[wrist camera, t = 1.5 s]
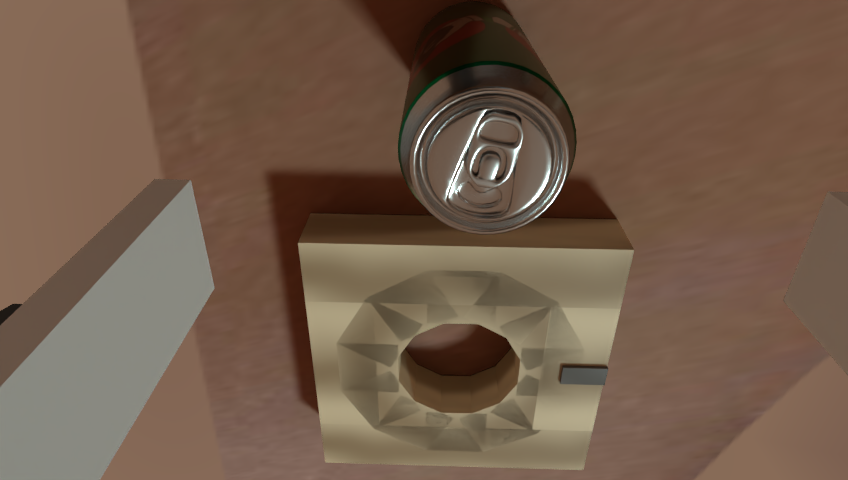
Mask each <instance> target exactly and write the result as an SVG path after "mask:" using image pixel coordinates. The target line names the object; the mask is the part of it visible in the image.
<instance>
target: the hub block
mask: <svg viewBox="0 0 848 480" xmlns="http://www.w3.org/2000/svg"><path fill="white" fill-rule="evenodd" d="M298 248H299V256H300V264H301V272H302V280H303V288H304V296H305V304H306V312H307V320H308V328H309V336H310V344H311V352H312V360H313V368H314V376H315V384H316V392H317V400H318V408H319V416H320V424H321V432H322V440H323V448H324V456H325V462H327V463H361V464H395V465H430V466H464V467H498V468H532V469H566V470H583V469H584V464H585V460H586V456H587V451H588V447H589V443H590V439H591V434H592V430H593V426H594V421H595V417H596V413H597V408H598V404H599V400H600V395H601V391H602V387H603V385H605V380H606V376H607V372H608V367H607V365H608V361H609V357H610V352H611V348H612V344H613V339H614V335H615V331H616V326H617V322H618V318H619V313H620V309H621V305H622V300H623V296H624V292H625V288H626V283H627V279H628V275H629V270H630V266H631V262H632V257H633V253H634V249H633V247H632V245H631V243H630V241H629V240H628V238H627V236H626V234H625V232H624V230H623V229H622V227H621V225H620V223H619V221H618V219H569V218H537V219H535V220H534V221H532V222H531V223H529V224H527V225H525V226H523V227H521V228H518V229H516V230H513V231H509V232H506V233H500V234H494V235H479V234H471V233H467V232H463V231H459V230H457V229H454V228H452V227H450V226H448V225H446V224H444V223H443V222H441V221H439V220H438V219H437V218H436V217H435V216H419V215H369V214H319V213H310V216H309V218H308V220H307V223H306V225H305V227H304V230H303V232H302V234H301V237H300V239H299V241H298ZM443 323H454V324H479V325H481V326H483V327H485V328H487V329H489V330H491V331H493V332H495V333H497V334H499V335H501V336H503V337H505V338H507V340H508V341H509V343H510V345H511V346H512V348H511V349H510V350H509V351H508V352H507V354H506V355H505V356H504V357H503V358H502V359H501V360H500V361H499V363H498V364H497V365H496V366H495V367H492V368H489V369H487V370H484V371H482V372H479V373H477V374H474V375H471V376H444V375H439V374H437V373H435V372H433V371H430V370H428V369H426V368H424V367H422V366H419V365H417V364H416V363H415V361H414V360H413V359H412V357H411V356H410V355H409V353H408V352H407V351H406V349H405V348H406V346H407V345H408V344H409V342H410V341H411V340H412V338H413V337H414V336H415V335H417V334H420V333H422V332H424V331H427V330H429V329H432V328H434V327H436V326H439V325H441V324H443Z"/></svg>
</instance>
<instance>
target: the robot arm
mask: <svg viewBox="0 0 848 480" xmlns="http://www.w3.org/2000/svg"><path fill="white" fill-rule="evenodd" d="M213 290H214V283H213V279H212V274H211V270H210V265H209V261H208V256H207V252H206V247H205V242H204V238H203V233H202V229H201V224H200V220H199V215H198V211H197V206H196V202H195V197H194V193H193V188H192V183H191V180H165V179H154V180H153V181H152V182H151V183H150V184H149V185H148V186H147V187H146V188H145V189H144V190H143V191H142V192H141V193H140V194H138V195H137V196H136V197H135V198H134V199H133V200H132V201H131V202H130V203H129V204H128V205H127V206H126V207H125V208H124V209H123V210H122V211H121V212H120V213H118V214H117V215H116V216H115V217H114V218H113V219H112V220H111V221H110V222H109V223H108V224H107V225H106V226H105V227H104V228H103V229H102V230H100V232H98V233H97V234H96V235H95V236H94V237H93V238H92V239H91V240H90V241H89V242H88V243H87V244H86V245H85V246H84V247H83V248H81V249H80V250H79V251H78V252H77V253H76V254H75V255H74V256H73V257H72V258H71V259H70V260H69V261H68V262H67V263H66V264H65V265H64V266H62V268H60V269H59V270H58V271H57V272H56V273H55V274H54V275H53V276H52V277H51V278H50V279H49V280H48V281H47V282H46V283H45V284H43V285H42V287H40V288H39V289H38V290H37V291H36V292H35V293H34V294H33V295H32V296H31V297H30V298H29V299H28V300H27V301H26V302H24V303H23V304H12V305H10V306H8V307H7V308H5V309H3V310H1V311H0V480H100V479H101V477H102V475H103V474H104V472H105V470H106V469H107V467H108V465H109V464H110V462H111V460H112V458H113V457H114V455H115V454H116V451H117V450H118V448H119V447H120V445H121V443H122V442H123V440H124V438H125V437H126V435H127V433H128V432H129V430H130V428H131V427H132V425H133V423H134V422H135V420H136V418H137V417H138V415H139V413H140V412H141V410H142V408H143V406H144V405H145V403H146V401H147V400H148V398H149V397H150V395H151V393H152V392H153V390H154V388H155V387H156V385H157V383H158V382H159V380H160V378H161V376H162V375H163V373H164V372H165V370H166V368H167V367H168V364H169V363H170V362H171V360H172V358H173V356H174V355H175V353H176V351H177V350H178V348H179V346H180V345H181V343H182V341H183V340H184V338H185V336H186V335H187V333H188V331H189V330H190V328H191V326H192V325H193V323H194V321H195V320H196V318H197V316H198V315H199V313H200V311H201V310H202V308H203V306H204V305H205V303H206V301H207V300H208V298H209V296H210V295H211V293H212V291H213ZM783 301H784V302H785V303H786V304H787V306H788V307H789V308H790V309H791V310H792V311H793V313H794V314H795V315H796V316H797V317H798V318H799V320H800V321H801V322H802V323H803V324H804V325H805V327H806V328H807V329H808V330H809V331H810V332H811V333H812V335H813V336H814V337H815V338H816V339H817V340H818V342H819V343H820V344H821V345H822V346H823V347H824V349H825V350H826V351H827V352H828V353H829V354H830V356H831V357H832V358H833V359H834V360H835V361H836V362H837V364H838V365H839V366H840V367H841V368H842V369H843V370H844V372H845V373H846V374H847V375H848V192H827V194H826V197H825V199H824V202H823V204H822V207H821V209H820V212H819V214H818V216H817V219H816V221H815V224H814V226H813V229H812V231H811V234H810V236H809V239H808V241H807V244H806V246H805V248H804V251H803V253H802V256H801V258H800V261H799V263H798V266H797V268H796V271H795V273H794V276H793V278H792V280H791V283H790V285H789V288H788V290H787V293H786V295H785V298H784V300H783Z"/></svg>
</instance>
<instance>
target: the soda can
mask: <svg viewBox="0 0 848 480" xmlns="http://www.w3.org/2000/svg"><path fill="white" fill-rule="evenodd" d="M576 143H577V141H576V128H575V124H574V120H573V116H572V113H571V111H570V109H569V106H568V104H567V102H566V101H565V99H564V97H563V96H562V94H561V93H560V91H559V89H558V88H557V86H556V84H555V83H554V81H553V80H552V78H551V76H550V75H549V73H548V71H547V70H546V68H545V67H544V65H543V63H542V62H541V60H540V58H539V57H538V55H537V53H536V52H535V50H534V49H533V47H532V45H531V44H530V42H529V40H528V39H527V37H526V36H525V34H524V32H523V31H522V29H521V28H520V26H519V25H518V23H517V22H516V21H515V20H514V19H513V17H512V16H511V15H509V14H508V13H507V12H505V11H504V10H503V9H501V8H499V7H497V6H495V5H492V4H489V3H485V2H478V1H472V2H463V3H458V4H455V5H452V6H450V7H448V8H446V9H444V10H442V11H441V12H439V13H438V14H437V15H436V16H434V17H433V18H432V19H431V20H430V22H429V23H428V24H427V25H426V26H425V28H424V29H423V31H422V33H421V35H420V37H419V39H418V41H417V45H416V48H415V53H414V58H413V63H412V68H411V74H410V79H409V84H408V90H407V95H406V100H405V106H404V111H403V116H402V121H401V127H400V132H399V141H398V156H399V163H400V167H401V171H402V174H403V176H404V179H405V181H406V184H407V185H408V187H409V188H410V190H411V192H412V193H413V195H414V196H415V197H416V198H417V199H418V200H419V202H420V203H421V204H422V205H423V206H425V207H426V209H427V210H428V211H429V212H430V213H431V214H432V215H433V216H435V217H436V218H437V219H438V220H439V221H441V222H443V223H444V224H446V225H448V226H450V227H452V228H454V229H457V230H459V231H463V232H467V233H471V234H479V235H494V234H500V233H506V232H509V231H513V230H516V229H518V228H521V227H523V226H525V225H527V224H529V223H531V222H532V221H534V220H535V219H537V218H538V217H539V216H541V215H542V214H543V213H544V212H545V211H547V209H548V208H549V207H550V206H551V205H552V204H553V203H554V202H555V200H556V199H557V197H558V195H559V194H560V192H561V190H562V188H563V186H564V184H565V182H566V180H567V177H568V175H569V173H570V171H571V169H572V165H573V162H574V158H575V152H576Z"/></svg>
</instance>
